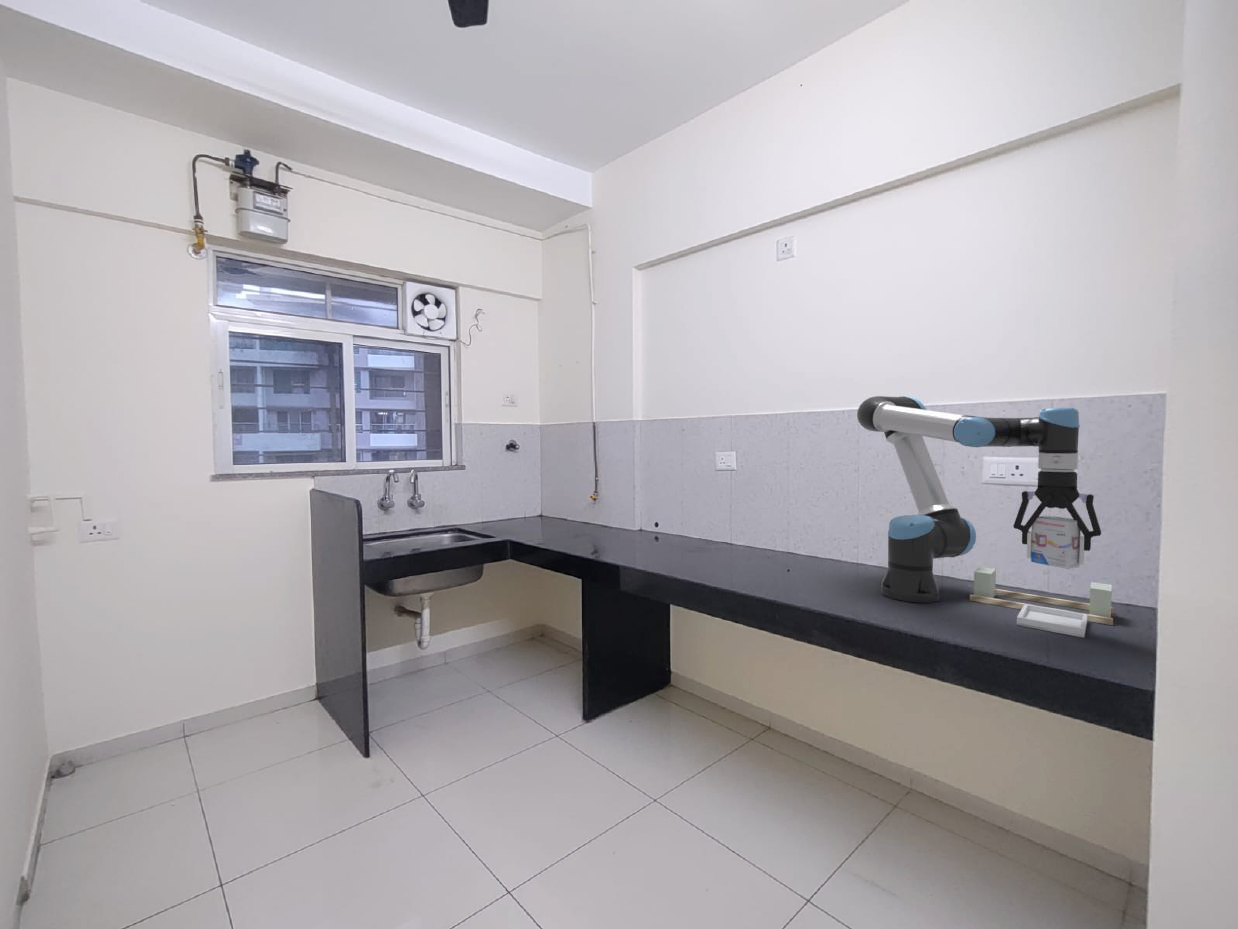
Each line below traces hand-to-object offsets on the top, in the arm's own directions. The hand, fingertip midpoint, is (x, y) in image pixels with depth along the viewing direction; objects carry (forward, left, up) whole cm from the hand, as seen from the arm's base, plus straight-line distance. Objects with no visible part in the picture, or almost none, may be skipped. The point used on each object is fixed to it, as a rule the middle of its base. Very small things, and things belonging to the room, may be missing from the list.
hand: (1054, 560), depth 131 cm
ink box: (0, 0, -1) cm, 1 cm away
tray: (0, 0, -16) cm, 16 cm away
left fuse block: (-17, +15, -16) cm, 28 cm away
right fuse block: (+8, +15, -16) cm, 24 cm away
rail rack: (-4, +15, -16) cm, 22 cm away
